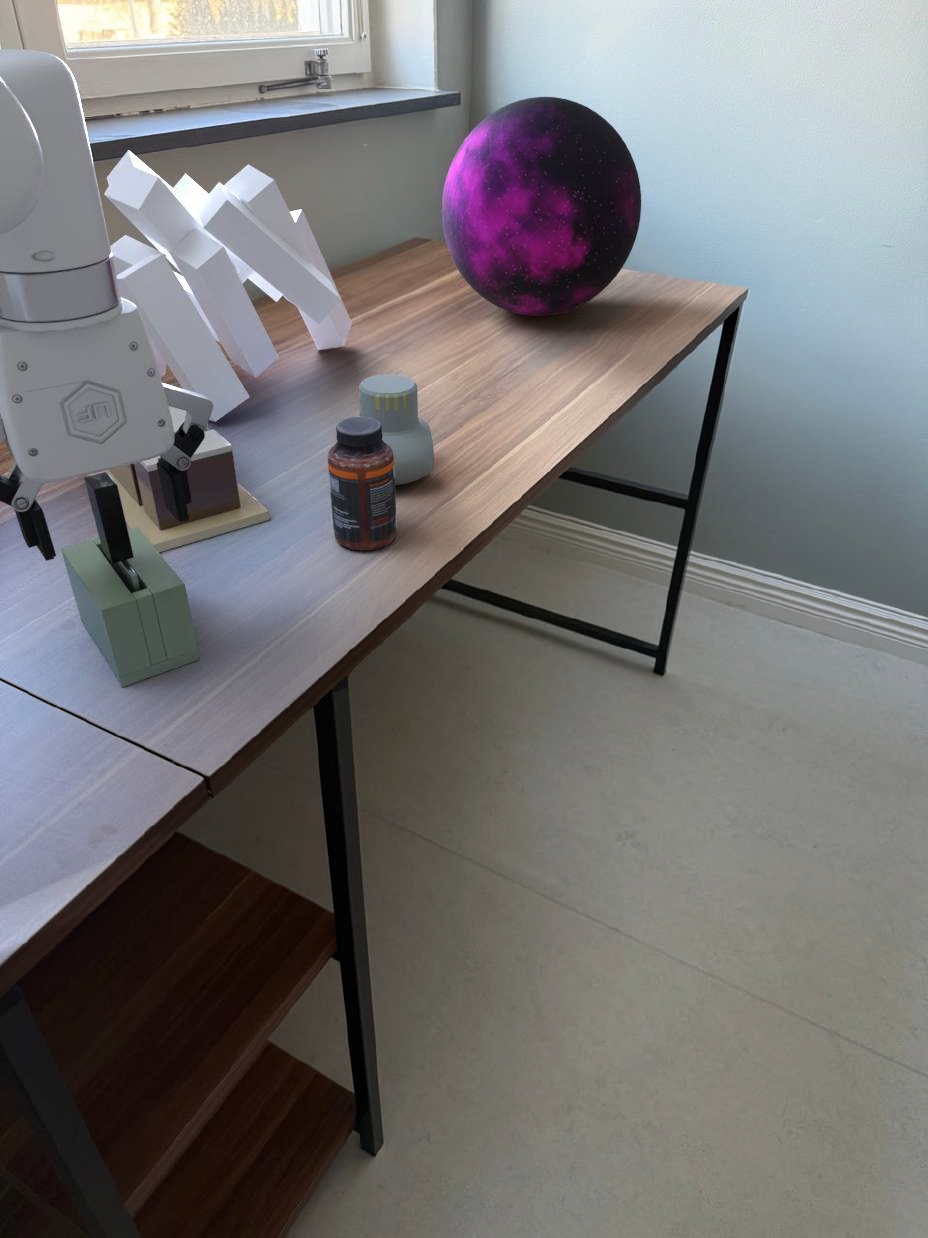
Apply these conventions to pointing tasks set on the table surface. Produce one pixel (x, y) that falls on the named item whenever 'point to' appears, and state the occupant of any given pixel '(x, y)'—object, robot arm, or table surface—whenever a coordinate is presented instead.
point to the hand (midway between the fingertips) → (113, 531)
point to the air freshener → (399, 423)
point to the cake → (211, 491)
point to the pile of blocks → (218, 274)
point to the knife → (112, 526)
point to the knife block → (132, 610)
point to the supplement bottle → (362, 485)
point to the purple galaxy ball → (541, 206)
